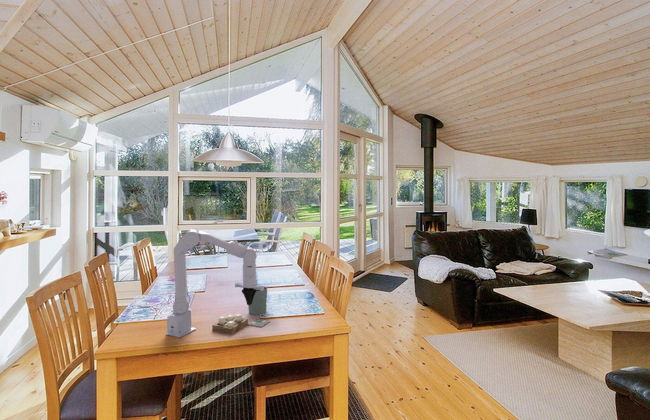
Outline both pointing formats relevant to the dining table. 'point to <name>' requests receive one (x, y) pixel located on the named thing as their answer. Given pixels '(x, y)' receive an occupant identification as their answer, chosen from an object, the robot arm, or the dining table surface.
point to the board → (227, 329)
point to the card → (259, 323)
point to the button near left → (221, 320)
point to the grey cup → (258, 302)
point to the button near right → (230, 323)
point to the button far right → (238, 318)
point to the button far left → (230, 317)
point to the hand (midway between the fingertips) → (249, 304)
